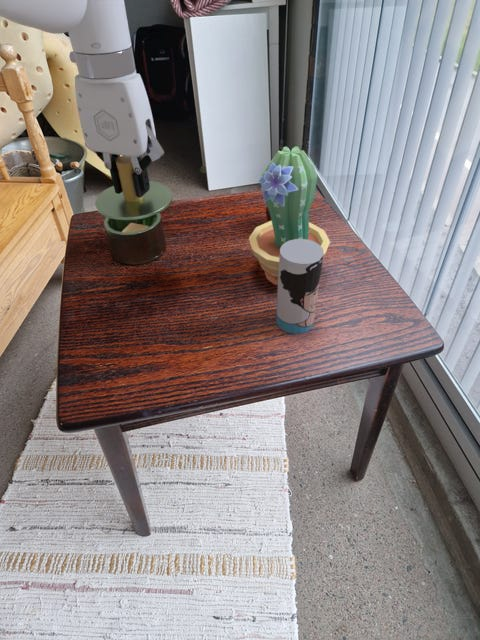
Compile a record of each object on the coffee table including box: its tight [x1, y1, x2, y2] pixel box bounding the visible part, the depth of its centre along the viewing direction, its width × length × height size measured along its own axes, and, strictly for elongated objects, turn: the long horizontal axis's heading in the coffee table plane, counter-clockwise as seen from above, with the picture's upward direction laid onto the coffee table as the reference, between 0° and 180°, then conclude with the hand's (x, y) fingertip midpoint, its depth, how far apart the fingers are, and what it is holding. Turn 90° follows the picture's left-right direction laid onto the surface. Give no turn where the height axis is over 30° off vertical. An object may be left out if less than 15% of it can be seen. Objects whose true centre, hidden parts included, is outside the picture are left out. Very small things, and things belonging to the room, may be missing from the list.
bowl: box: [103, 212, 167, 266], centre depth 90 cm, size 12×12×8 cm
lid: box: [94, 155, 174, 220], centre depth 68 cm, size 13×13×8 cm
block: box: [122, 223, 149, 233], centre depth 91 cm, size 4×4×4 cm
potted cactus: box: [248, 145, 331, 286], centre depth 77 cm, size 15×15×25 cm
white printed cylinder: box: [275, 239, 324, 335], centre depth 70 cm, size 7×7×15 cm
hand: (132, 190), depth 69 cm, fingers closed on lid, 3 cm apart
